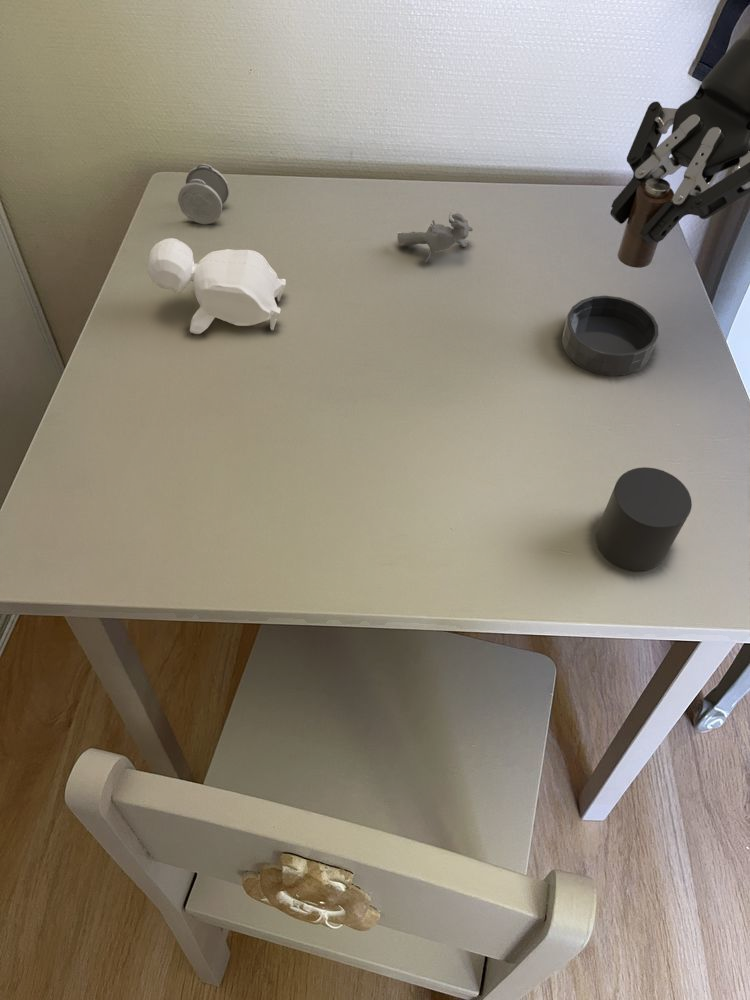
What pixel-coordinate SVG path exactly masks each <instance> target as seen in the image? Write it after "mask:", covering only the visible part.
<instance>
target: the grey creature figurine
mask: <svg viewBox="0 0 750 1000" xmlns="http://www.w3.org/2000/svg"><path fill="white" fill-rule="evenodd" d="M454 209H455V208H452V210H451V211H450V213H449V214H448V222H449V224H450V226H445V225H444V224H438V223H437V224H436V221H435V219H433V220H432V221H431V222H432V223H430V225H429V226H428V227H427V230H426V232H423V231H410V232H402V231H397V242H398V244H399V245H401V244H403V245H404V247H411V246H415V245H427V246H428V248H429V255H428V257H427V259H426V260H425V261H424V264H426V263H427V262H428V261H429V260H430V259H431V258H432V256H433V255H435V254H436V253H437V252H440V251H441V252H442V251H445V250H447V249H449V248H451V247H452V246H454V245H456V244H458V245H459V246H460V247H464V248H466V247H467V245H468V242H467V240H465V239H467V238H468V237H469V232H473V231H474V230H473V227H472V226H470V225H469V222H468V220H467V219H465V217H464V216H463V214H461V213H459V211H457V212H456V213H453V212H454Z"/></svg>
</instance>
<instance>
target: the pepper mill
mask: <svg viewBox="0 0 750 1000" xmlns="http://www.w3.org/2000/svg"><path fill="white" fill-rule="evenodd" d="M674 194H675V192H674V190H673V189H672V188H671V183H669V181H667V180H666V179H664V178H663V179H661V178H651V179H648V180H647V181H646V183H643V184H641V185H640V186H639V187H638V188H637V191H636V194H635V198H634V201H633V204H632V208H631V211H630V214H629V217H628V219H627V220H626V223H625V224H626V225H625V228H624V231H623V234H622V238H621V241H620V245H619V248H618V252H617V259H618V260H619V261H620V262H621V263H622V264H623V265H625V266H627V267H630V268H636V269H637V268H639V269H640V268H645V267H648V266H649V265H650V264H652V262H653V258H654V256H655V253H656V250H657V247H658V244H659V242H658V243H657V242H656V241H655V242H654V243H653V244H652V245H648V244H647V243H646V242H644V241H643V240H642V238H641V237H640V236H639V233H640V231H641V230H642V229H643V228H644V226H645V225H646V224H647V223H648V222H649V221H650V219H651V218H652V217H653V216H654V215H655V214H656V212H657V211H658V210H659V209H660V208H661V207H662V206H663V204H664V203H665V202H666V201H669V202H671V201H672V198H673V196H674Z"/></svg>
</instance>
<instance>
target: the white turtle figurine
mask: <svg viewBox="0 0 750 1000" xmlns="http://www.w3.org/2000/svg"><path fill="white" fill-rule="evenodd" d="M147 273H148V275H149V277H150V279H151V281H152V283H153V284H154V285H156V286H157V287H158V288H160V289H164V290H169V291H172V292H174V293H176V294H180V293H182V292H183V291H184V289H186V288H187V286H188V285H189V284H190V283H191V282H192V285H193V292H194V296H195V298H196V300H197V302H198V304H199V307H198V309H197V310H196V312H195V313H194V314H193V315H192V318H191V321H190V326H189V332H190V333H191V334H194V335H201V334H202V333H203V332H205V331H206V330H207V329H208V328H209V327H210V326H211V324H212V323H213V321H214V320H215V319H219V320H222V321H223V322H227V323H228V324H233V325H235V326H238V327H241V326H243V327H245V326H246V327H247V326H248V327H250V326H255V325H257V324H262V323H265V322H267V321H270V322H269V324H270V327H269V328H270V330H271V331H274V329H275V326H276V324H277V321H278V317H279V315H280V313H281V311H282V310H281V308H280V307H279V306H278V305H277V302H278V303H279V302H280V300H281V297H282V295H283V292H284V290H285V287H286V284H287V280H286V279H285V278H279V277H278V274H277V273H276V271H275V270H274V269H273V268H272V267H271V265H270V264H269V262H268V261H267V259H266V258H265V257H264V256H263V255H262V254H261V253H259V252H258V251H255V250H252V249H232V248H226V249H221V250H212V251H210V252H208V253H207V254H206V255H204V256H203V257H202V258H201V259H199V262H198V263H195V261H194V254H193V250H192V248H191V247H190V246H189V245H188V244H186V243H185V242H183V241H181V240H180V239H177V238H175V237H169V238H164V239H162V240H160V241H158V242H157V243H156V244H154V245H153V247H152V248H151V250H150V251H149V257H148V261H147ZM275 298H276V299H275ZM276 301H277V302H276Z"/></svg>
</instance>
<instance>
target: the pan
mask: <svg viewBox="0 0 750 1000" xmlns="http://www.w3.org/2000/svg"><path fill="white" fill-rule="evenodd" d="M659 336H660V335H659V325H658V322H657V321H656V320H655V318H654V315H652V314H651V313H650V312H649V311H648V310H647V309H646V308H645V307H643V306H642V305H640V304H638V303H637V302H635V301H633V300H629V299H626V298H623V297H619V296H613V295H612V296H611V295H598V296H597V295H596V296H595V295H594V296H591V297H587V298H584V299H582V300H580V301H578V302H577V303H576V304H574V305H572V307H571V309H570V310H569V312H568V313H567V316H566V320H565V323H564V329H563V332H562V338H561V343H562V348H563V350H564V353H565V354H566V356H567V357H568V358H569V359H570V360H571V361H572V362H573V363H574V364H576V365H577V366H579V367H580V368H582V369H584V370H586V371H588V372H591V373H593V374H596V375H601V376H609V377H621V376H628V375H631V374H633V373H636V372H638V371H639V370H641V369H642V368H644V367H645V366H646V365H647V363H648V362H649V360H650V358H651V356H652V353H653V352H654V348H655V345H656V344H657V340H658V339H659Z"/></svg>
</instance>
